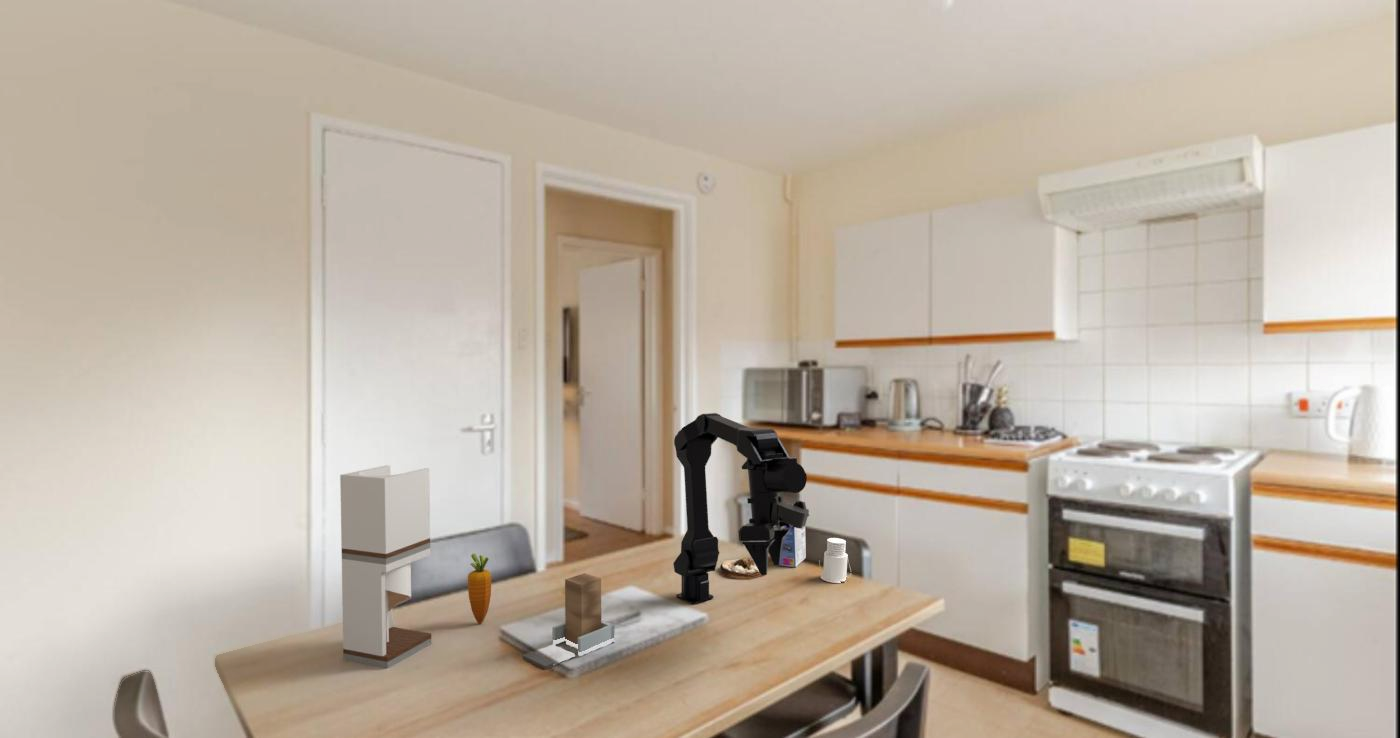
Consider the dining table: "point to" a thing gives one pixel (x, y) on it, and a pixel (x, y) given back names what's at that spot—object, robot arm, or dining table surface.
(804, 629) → the dining table surface
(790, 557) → the ink cartridge box
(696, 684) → the dining table surface
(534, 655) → the sleeve
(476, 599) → the carrot
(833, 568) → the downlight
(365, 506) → the tall white cubby shelf
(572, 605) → the walnut block
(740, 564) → the cream topped pie
